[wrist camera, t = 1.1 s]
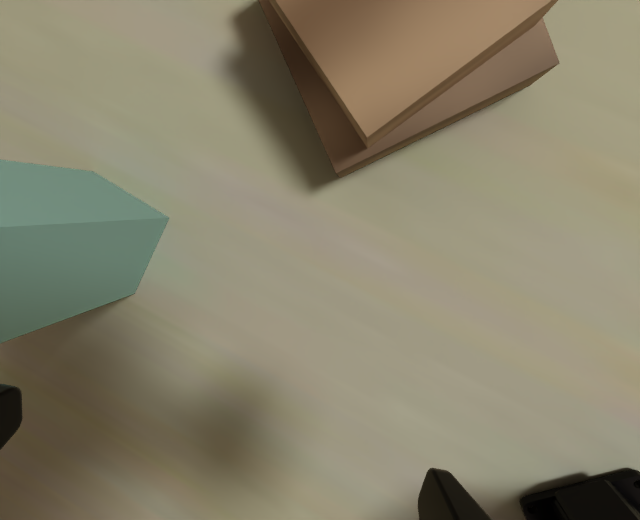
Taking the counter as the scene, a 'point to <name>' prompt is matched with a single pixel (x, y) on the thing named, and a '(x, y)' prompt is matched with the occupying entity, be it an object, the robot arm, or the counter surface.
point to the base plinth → (454, 104)
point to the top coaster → (400, 49)
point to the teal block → (67, 244)
